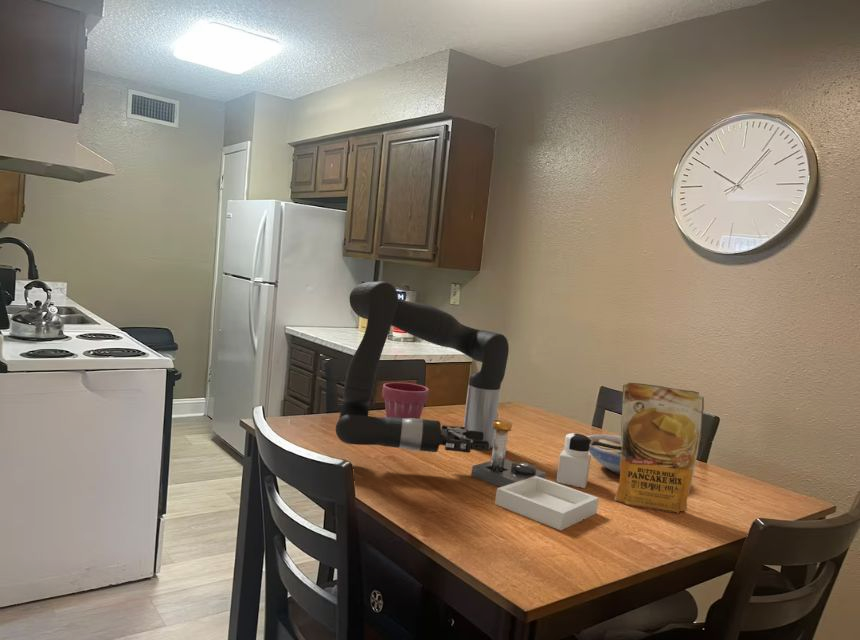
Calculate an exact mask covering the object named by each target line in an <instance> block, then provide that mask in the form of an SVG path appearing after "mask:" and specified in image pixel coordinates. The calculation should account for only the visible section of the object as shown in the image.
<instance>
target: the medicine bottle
mask: <svg viewBox="0 0 860 640" xmlns="http://www.w3.org/2000/svg"><path fill="white" fill-rule="evenodd" d="M589 446H590V439H589V438H588V437H587V435H585V434H580V433H573V432H571V433H568V434H566V435H565V439H564V446H563V449H562V450H561V452H560V454H559V458H558V465H557V466H558V467H557V473H556V474H557V475H556V481H555V483H558V484H561V485H566V484H567V485H568V486H571V485H572V487H576V488H580V487H581V489H586V487H587V484H588V480H589V473H590V467H591V458H592V455H591V453H590V451H589ZM567 485H566V486H567Z"/></svg>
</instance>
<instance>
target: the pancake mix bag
mask: <svg viewBox="0 0 860 640" xmlns="http://www.w3.org/2000/svg"><path fill="white" fill-rule="evenodd" d="M704 402H705V401H704V396H700V392H699V391H694V390H687V389H677V388H671V387H667V386H662V385H661V386H660V385H656V384H655V385H654V384H646V383H639V382H636V383H635V382H627V383H625V384H623V385H622V396H621V411H622V412H621V421H620V423H621V424H620V425H621V427H620V436H621V444H622V450H621V460H620V474H619V481H618V482H619V483H618V488H617V491H616V493H615V496H614V499H613V500H614V501H615V502H621V503H622V504H623V505H624V504H625V505H626V504H627V506H630V505H632V507H636V506H637V507H638V508H641V507H643V508H642V509H646V508H651V509H650V510H653V509H657V510H656V511H660V510H663V511H662V512H665V511H670V512H669V513H671V512H678V513H677V514H680V513H681V512H680V511H687V512H688V502H687V501H688V498H689V493H690V489H691V486H692V481H693V476H694V472H695V466H696V464H697V463H696V461H697V458H698V453H699V447H700V444H701V443H700V442H701V437H702V428H703V427H702V426H703V415H704V409H705V407H704V405H705V403H704ZM637 507H636V508H637ZM679 512H680V513H679Z"/></svg>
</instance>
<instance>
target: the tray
mask: <svg viewBox="0 0 860 640" xmlns="http://www.w3.org/2000/svg"><path fill="white" fill-rule="evenodd" d="M599 499H600V497H598V496H596V495H593V494H591V493H586V492H584V491H581V490H578V489H575V488H573V487H569V486H567V485H565V484H562V483H557V482H556V481H552V480H549V479H546V478H545V479H544V478H541V477H538V476H534V477H531V478H528V479H524V480H521V481H518V482H515V483H512V484H509V485H506V486H503V487H497V488H496V493H495V499H494V500H495V502H494V505H495V506H499V507H501V508H504V509H506V510H509V511H511V512H514V513H515V514H518V515H521V516H523V517H526V518H528V519H531V520H533V521H535V522H537V523H541V524H543V525H545V526H548V527H550V528H553V529H556V530H558V531H563V530H564V529H566V528H568V527H572V526H573V525H575V524H577V523H579V522H582V521H583V519H584V520H585V519H588V518H590V517H592V516H594V515H596V514H597V513H598V508H599V507H598V506H599Z"/></svg>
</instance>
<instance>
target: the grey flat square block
mask: <svg viewBox="0 0 860 640" xmlns="http://www.w3.org/2000/svg"><path fill="white" fill-rule="evenodd" d="M490 466H491V460H490V461H486V462H482V463H477V464H475V465H472V467H471V474H470V477H473V478H475V479H479V480H481V481H483V482H486V483H489V484H491V485H494V486H497V487H498V488H500V487H503V486H506V485H509V484H512V483H515V482H518V481H521V480H524V479H528V478H531V477H534V476H538V477H541V478H544V479H546V476H547V475H546V474H547V472H545V471H542V470H539V469H537V467H536V465H534V464H531V463H528V462H523V461H512V460H510V459H508V458H507V459H506V458H505V461H504V469H503V472H496V471H493V470H490Z"/></svg>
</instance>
